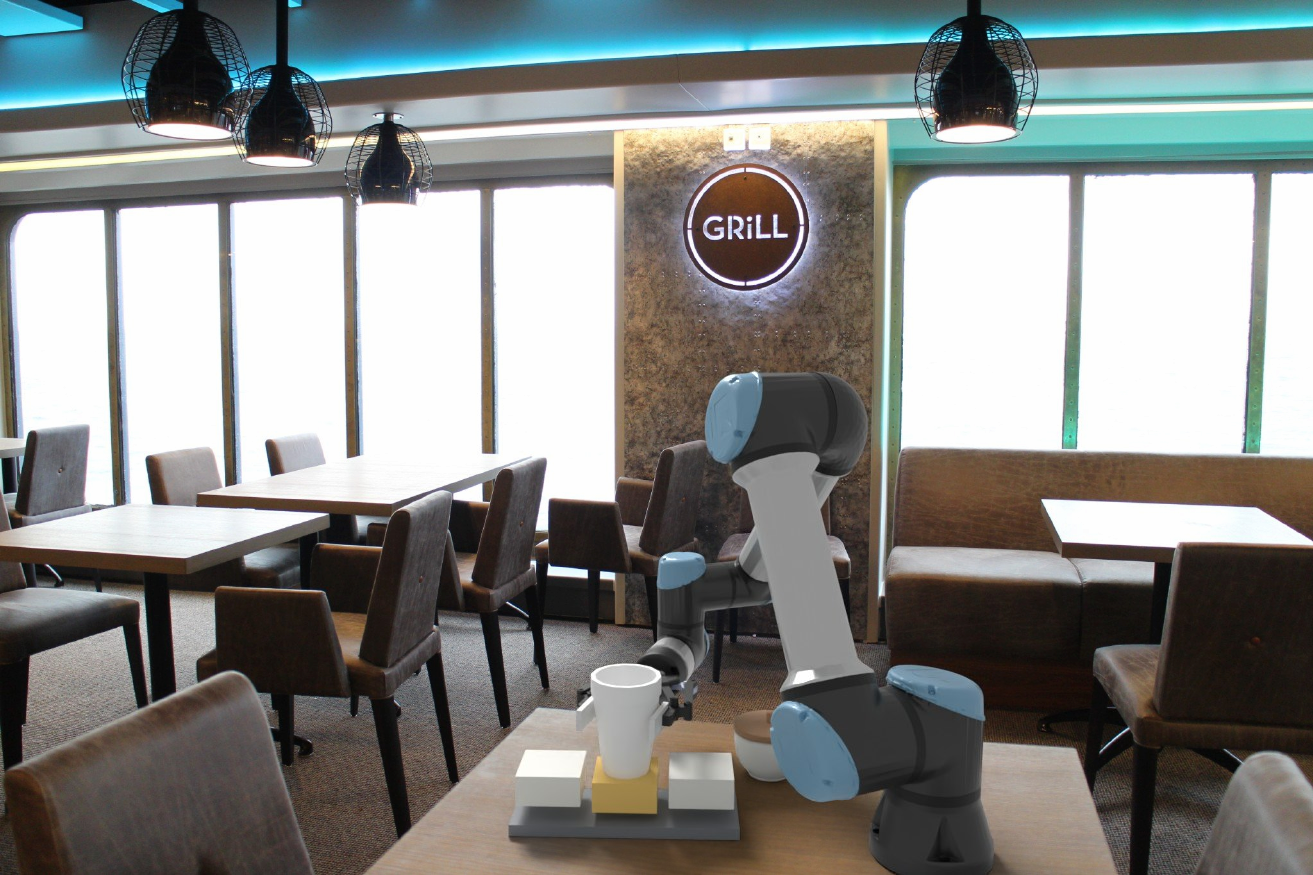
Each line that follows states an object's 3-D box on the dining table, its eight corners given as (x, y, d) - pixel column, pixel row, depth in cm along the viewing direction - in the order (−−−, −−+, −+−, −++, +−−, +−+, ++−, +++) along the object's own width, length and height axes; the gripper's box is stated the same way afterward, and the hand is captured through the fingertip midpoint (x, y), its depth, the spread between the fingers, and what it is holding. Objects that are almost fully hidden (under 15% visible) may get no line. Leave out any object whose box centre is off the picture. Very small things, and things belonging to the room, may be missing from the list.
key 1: (586, 778, 136) (586, 750, 136) (580, 806, 128) (579, 777, 128) (525, 777, 137) (525, 749, 136) (515, 805, 128) (515, 776, 128)
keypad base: (735, 800, 137) (735, 790, 137) (739, 840, 126) (739, 829, 126) (522, 797, 138) (522, 787, 138) (508, 836, 127) (508, 825, 127)
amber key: (658, 784, 136) (658, 756, 136) (656, 813, 128) (656, 784, 127) (597, 783, 136) (597, 755, 136) (591, 812, 128) (591, 783, 128)
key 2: (730, 780, 136) (731, 752, 135) (733, 809, 127) (734, 779, 127) (669, 779, 136) (669, 751, 136) (668, 808, 128) (668, 778, 127)
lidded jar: (721, 764, 150) (721, 704, 149) (783, 753, 153) (784, 695, 153) (753, 793, 140) (753, 730, 139) (818, 782, 144) (819, 720, 143)
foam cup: (663, 755, 136) (664, 665, 135) (657, 786, 127) (657, 688, 126) (596, 752, 137) (596, 662, 136) (585, 782, 128) (584, 685, 126)
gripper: (734, 702, 145) (697, 764, 124) (595, 686, 152) (536, 742, 130) (735, 652, 145) (697, 706, 123) (595, 639, 151) (536, 688, 130)
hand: (615, 725), depth 127 cm, fingers closed on foam cup, 9 cm apart
